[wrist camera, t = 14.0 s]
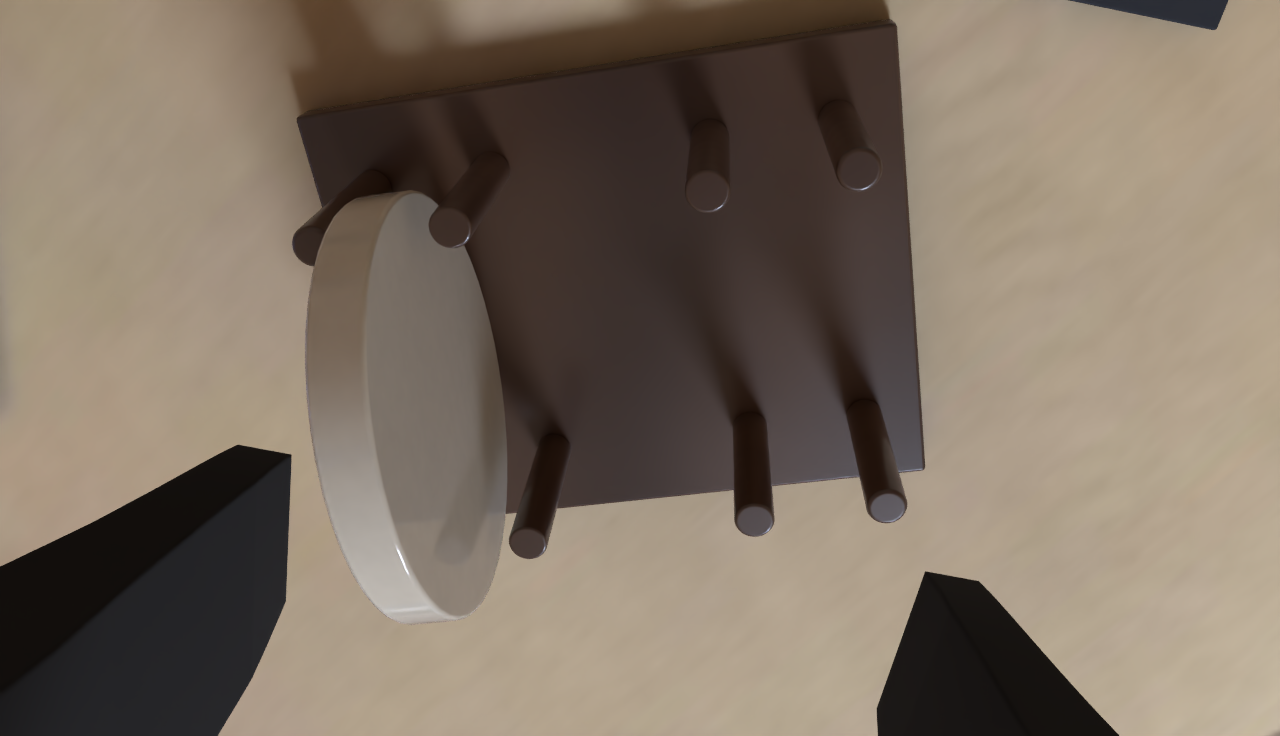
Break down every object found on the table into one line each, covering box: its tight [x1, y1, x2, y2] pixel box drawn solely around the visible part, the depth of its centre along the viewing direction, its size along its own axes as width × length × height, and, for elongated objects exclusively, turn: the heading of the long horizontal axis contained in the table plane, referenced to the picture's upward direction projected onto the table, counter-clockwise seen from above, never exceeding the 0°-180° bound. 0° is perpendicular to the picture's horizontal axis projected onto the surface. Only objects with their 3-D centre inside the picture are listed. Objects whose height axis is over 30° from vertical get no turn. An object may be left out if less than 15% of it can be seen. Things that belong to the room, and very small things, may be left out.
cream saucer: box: [305, 189, 507, 625], centre depth 18 cm, size 1×7×7 cm, turn 9°
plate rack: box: [292, 19, 925, 559], centre depth 20 cm, size 11×9×4 cm
